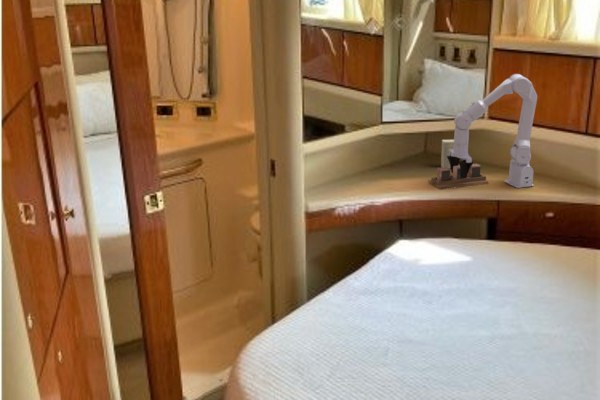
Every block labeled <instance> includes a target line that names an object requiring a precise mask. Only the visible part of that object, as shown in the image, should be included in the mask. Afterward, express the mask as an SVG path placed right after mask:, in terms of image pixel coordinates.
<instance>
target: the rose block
mask: <svg viewBox="0 0 600 400" xmlns="http://www.w3.org/2000/svg"><path fill="white" fill-rule="evenodd" d="M452 175H453V179H455V180H457V179H465V178H461V169H460V165H459V164H458V166H453V173H452Z"/></svg>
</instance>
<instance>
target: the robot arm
mask: <svg viewBox="0 0 600 400" xmlns="http://www.w3.org/2000/svg"><path fill="white" fill-rule="evenodd" d="M514 92H515V93H517V94H518V95H519V97H520V98H522V104H521V110H520V116H519V121H518V128H517V133H516V138H515V140H514V141H513V145H512V146H511V148H510V150H509V154H510V156H511V159H510V160H509V161H510V162H509V171H508V173H509V174H508V179H504V180H503V182H504V183H505V184H508V185H511V186H512V187H515V188H517V189H519V188H527V187H534V186H535V184H533V181H534V169H533V167H532V166H530V161H531V159H532V154H531V142H530V141H531V135H532V128H533V123H534V118H535V112H536V107H537V102H538V94H537V92H536V90H535V88H534V84H533V82H532V81H530V80H529V79H528V78H527V77H525V76H523V75H522V74H519V73H513V74H512V75H510V77H509V78H506V79H505V80H503V82H501V83H500V84H499V85H498V86H497V87H496V88H494V89H493V90H492V91H491V92H490V93H489V94H488V95H486V96H485V97H484V98H483V99H482V100H479V99H478V100H475V101H472V102H471V105H469V106H468V107H467V108H465V109H463V110H461V112H460V113H457V114H456V115H455V117H454V119H453V122H454V125H455V127H454V134H453V135H454V137H453V139H454V148H453V149H451V150H449V154H450V156H447V158H448V160H449V163H450V166H451V168H450V173H452V174H453V166H459V165H460V169H461V178H466V177H467V174H468V171H469V169H470V167H471V166H472V164H474V161H472V160H473V158H472V157H471V156H470V154H469V142H470V141H469V139H470V138H469V137H470V127H471V125H472V123H473V122H475V121H477V120H478V119H479V118H480V117H481V116H482V115H484V114H485V113H486V112H487V110H488V107H489V106H491V105H492V104H494V103H495V102H496V101H497V100H499V99H501V97H503V96H504V95H511V94H512V95H513V94H514Z"/></svg>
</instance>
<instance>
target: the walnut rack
mask: <svg viewBox="0 0 600 400" xmlns="http://www.w3.org/2000/svg"><path fill="white" fill-rule="evenodd" d="M436 174H437V176H435V177H431V178H430V179H429V180H428V183H429V184H430V185H432V186H433V187H436V188H437V189H439V190H447V188H448V189H455V188H454V187H456V188H462V187H463V188H464V187H471V186H472V187H473V186H479V184H481V185H488V184H489V180H487V176H485V175H484V174H482V173H481V164H478V163H473V164H472V166H471V167H470V169H469V171H468V174H467V177H466V178H465V179H457V180H455V179H453V174H452V175H451V168H448V167H442V166H440V167H437V173H436Z"/></svg>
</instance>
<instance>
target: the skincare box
mask: <svg viewBox="0 0 600 400" xmlns="http://www.w3.org/2000/svg"><path fill="white" fill-rule="evenodd" d="M453 148H454V138H453V139H441V156H440V157H441V158H440V167H448V168H450V169H451V166H450V163H449V160H448V158H447V156H450V154H449V150H451V149H453Z"/></svg>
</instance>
